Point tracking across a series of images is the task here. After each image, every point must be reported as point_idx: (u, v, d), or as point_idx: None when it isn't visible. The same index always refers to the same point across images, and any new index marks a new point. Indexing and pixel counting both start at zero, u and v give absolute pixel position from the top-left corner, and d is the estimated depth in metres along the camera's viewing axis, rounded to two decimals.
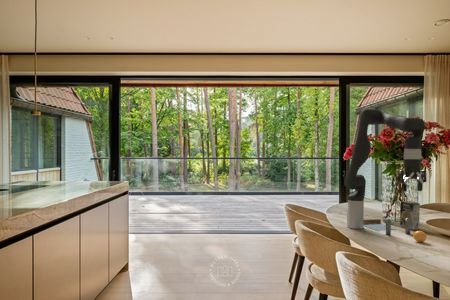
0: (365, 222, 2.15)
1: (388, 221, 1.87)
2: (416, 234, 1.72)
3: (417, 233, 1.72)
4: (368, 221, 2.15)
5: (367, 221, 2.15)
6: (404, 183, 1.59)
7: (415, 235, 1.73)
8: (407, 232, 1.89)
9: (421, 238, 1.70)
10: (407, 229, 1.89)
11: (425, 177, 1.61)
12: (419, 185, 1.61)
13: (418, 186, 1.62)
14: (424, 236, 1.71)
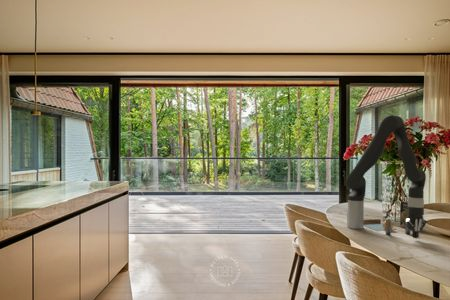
0: (365, 222, 2.15)
1: (388, 221, 1.87)
2: (382, 224, 2.00)
3: None
4: (368, 221, 2.15)
5: (367, 221, 2.15)
6: (415, 231, 1.75)
7: (382, 225, 1.99)
8: (407, 232, 1.89)
9: None
10: (407, 229, 1.89)
11: (423, 226, 1.76)
12: None
13: None
14: None
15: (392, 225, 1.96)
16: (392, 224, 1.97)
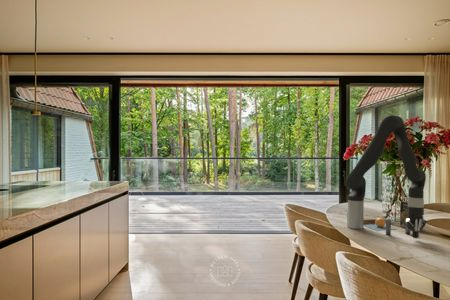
0: (365, 222, 2.15)
1: (388, 221, 1.87)
2: (377, 224, 2.04)
3: (378, 225, 2.04)
4: (368, 221, 2.15)
5: (367, 221, 2.15)
6: (415, 231, 1.75)
7: (376, 223, 2.05)
8: (407, 232, 1.89)
9: None
10: (407, 229, 1.89)
11: (423, 226, 1.76)
12: None
13: None
14: None
15: None
16: None
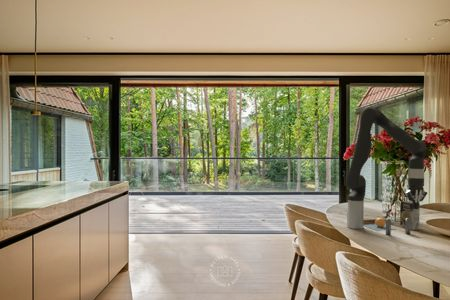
0: (365, 222, 2.15)
1: (388, 221, 1.87)
2: (377, 224, 2.04)
3: (378, 225, 2.04)
4: (368, 221, 2.15)
5: (367, 221, 2.15)
6: (415, 202, 1.75)
7: (376, 223, 2.05)
8: (407, 232, 1.89)
9: None
10: (407, 229, 1.89)
11: (423, 197, 1.76)
12: None
13: None
14: None
15: None
16: None
